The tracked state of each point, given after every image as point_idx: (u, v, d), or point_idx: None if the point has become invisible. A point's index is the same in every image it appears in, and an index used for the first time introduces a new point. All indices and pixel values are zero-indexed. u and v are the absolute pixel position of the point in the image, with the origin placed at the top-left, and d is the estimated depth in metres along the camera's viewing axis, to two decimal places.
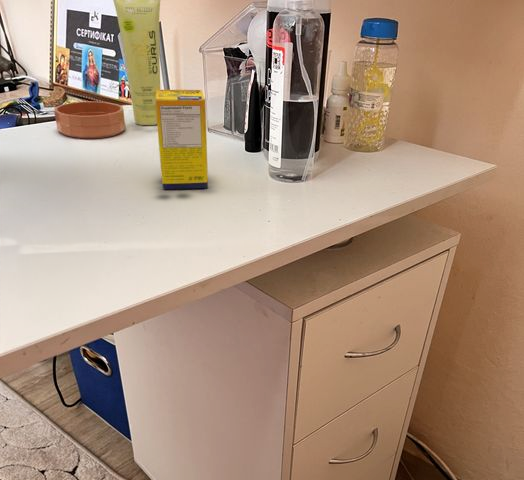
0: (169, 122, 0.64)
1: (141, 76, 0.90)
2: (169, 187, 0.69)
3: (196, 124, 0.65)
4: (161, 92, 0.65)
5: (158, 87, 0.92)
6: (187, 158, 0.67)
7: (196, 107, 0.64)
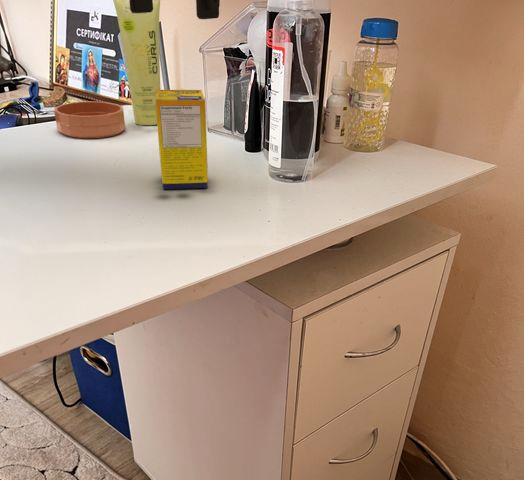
0: (169, 122, 0.64)
1: (141, 76, 0.90)
2: (169, 187, 0.69)
3: (196, 124, 0.65)
4: (161, 92, 0.65)
5: (158, 87, 0.92)
6: (187, 158, 0.67)
7: (196, 107, 0.64)
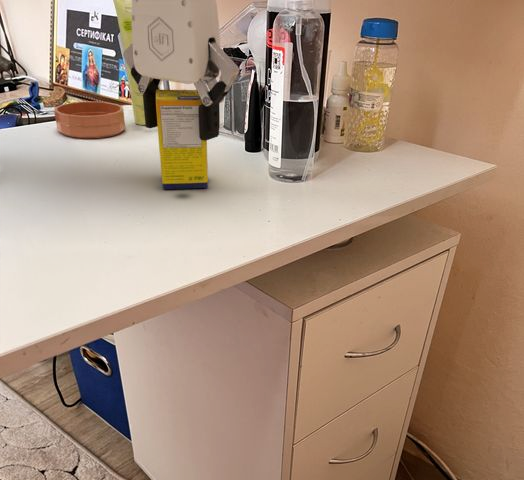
0: (169, 122, 0.64)
1: None
2: (169, 187, 0.69)
3: (197, 124, 0.65)
4: (161, 92, 0.65)
5: None
6: (187, 158, 0.67)
7: (196, 107, 0.64)
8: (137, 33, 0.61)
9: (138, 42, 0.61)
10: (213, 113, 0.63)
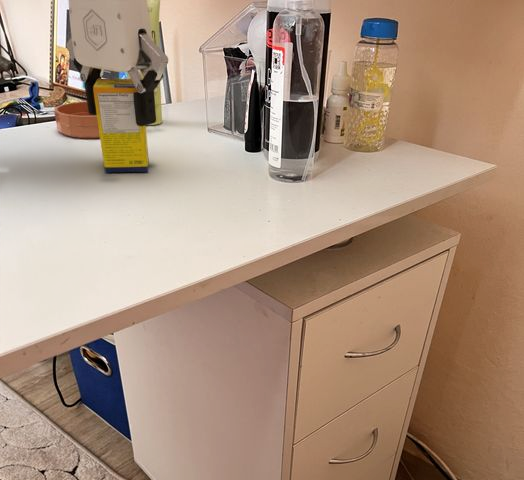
0: (107, 109, 0.68)
1: (141, 76, 0.90)
2: (111, 170, 0.73)
3: (133, 110, 0.69)
4: (101, 81, 0.70)
5: (158, 87, 0.92)
6: (126, 143, 0.71)
7: (132, 94, 0.68)
8: (74, 25, 0.65)
9: (75, 33, 0.66)
10: (147, 100, 0.68)
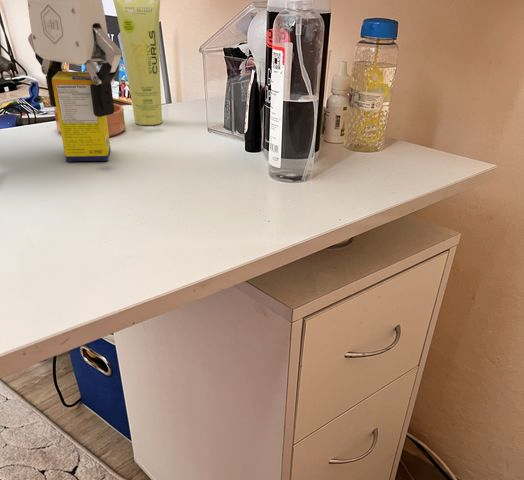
0: (65, 100, 0.71)
1: (141, 76, 0.90)
2: (72, 159, 0.76)
3: (91, 101, 0.72)
4: (61, 73, 0.73)
5: (158, 87, 0.92)
6: (85, 133, 0.74)
7: (89, 86, 0.71)
8: (33, 19, 0.69)
9: (34, 27, 0.69)
10: (104, 92, 0.71)
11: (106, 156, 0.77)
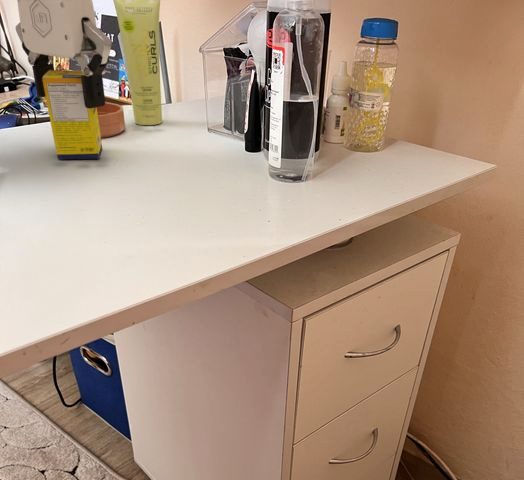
0: (56, 98, 0.72)
1: (141, 76, 0.90)
2: (63, 157, 0.77)
3: (82, 100, 0.73)
4: (51, 72, 0.73)
5: (158, 87, 0.92)
6: (76, 131, 0.75)
7: (80, 84, 0.72)
8: (22, 13, 0.69)
9: (24, 21, 0.69)
10: (95, 83, 0.71)
11: (97, 154, 0.77)
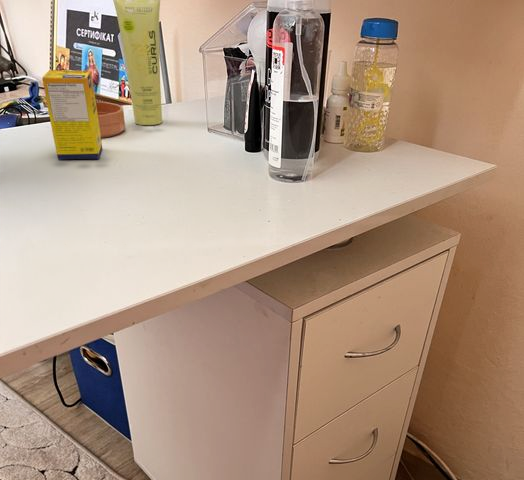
0: (56, 98, 0.72)
1: (141, 76, 0.90)
2: (63, 157, 0.77)
3: (82, 100, 0.73)
4: (51, 72, 0.73)
5: (158, 87, 0.92)
6: (76, 131, 0.75)
7: (80, 84, 0.72)
8: None
9: None
10: None
11: (97, 154, 0.77)
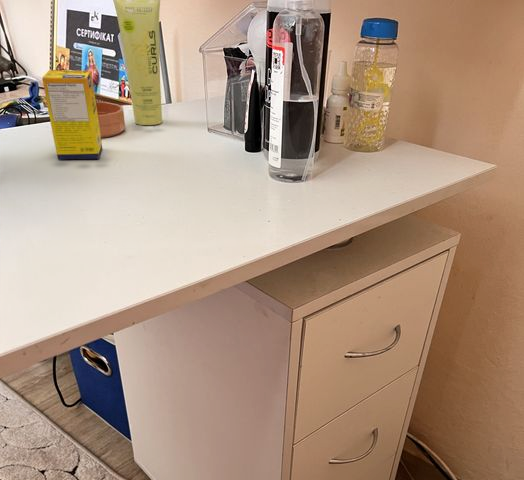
0: (56, 98, 0.72)
1: (141, 76, 0.90)
2: (63, 157, 0.77)
3: (82, 100, 0.73)
4: (51, 72, 0.73)
5: (158, 87, 0.92)
6: (76, 131, 0.75)
7: (80, 84, 0.72)
8: None
9: None
10: None
11: (97, 154, 0.77)
